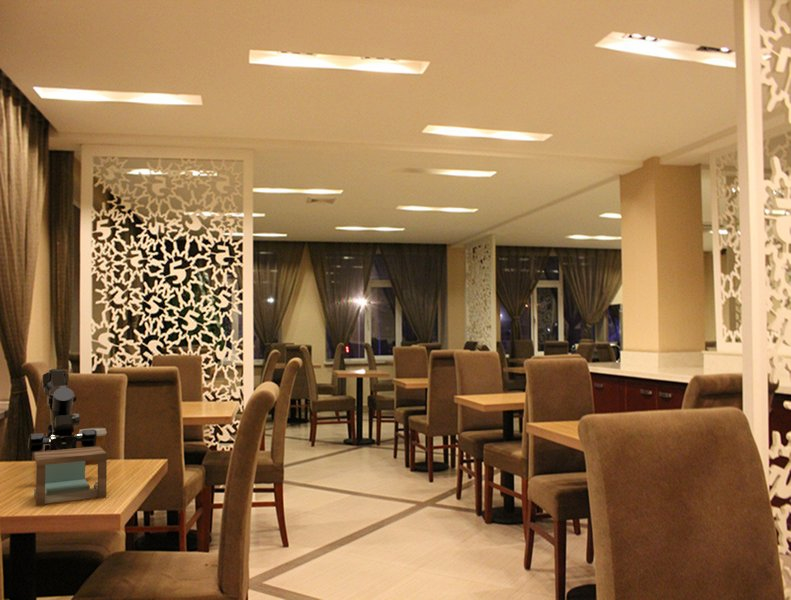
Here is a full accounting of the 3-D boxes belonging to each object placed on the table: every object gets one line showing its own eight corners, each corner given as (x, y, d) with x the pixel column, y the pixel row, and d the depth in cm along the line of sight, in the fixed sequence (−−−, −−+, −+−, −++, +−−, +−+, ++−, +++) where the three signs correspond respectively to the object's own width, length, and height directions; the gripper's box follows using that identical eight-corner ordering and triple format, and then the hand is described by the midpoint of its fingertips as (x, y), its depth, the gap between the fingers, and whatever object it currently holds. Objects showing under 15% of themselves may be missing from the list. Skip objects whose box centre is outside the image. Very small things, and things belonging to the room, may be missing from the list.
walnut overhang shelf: (33, 495, 188) (34, 452, 188) (99, 487, 196) (99, 446, 197) (36, 506, 174) (37, 459, 175) (106, 497, 183) (106, 453, 183)
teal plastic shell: (43, 487, 197) (44, 457, 198) (84, 483, 203) (84, 453, 204) (46, 496, 185) (47, 463, 186) (89, 491, 191) (90, 459, 192)
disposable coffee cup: (79, 466, 232) (79, 431, 233) (76, 462, 240) (76, 429, 241) (108, 463, 237) (109, 429, 238) (104, 459, 245) (104, 427, 246)
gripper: (29, 407, 202) (30, 448, 192) (96, 403, 211) (100, 442, 201) (28, 431, 208) (28, 472, 198) (93, 426, 218) (97, 465, 207)
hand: (64, 462), depth 201 cm, fingers closed
